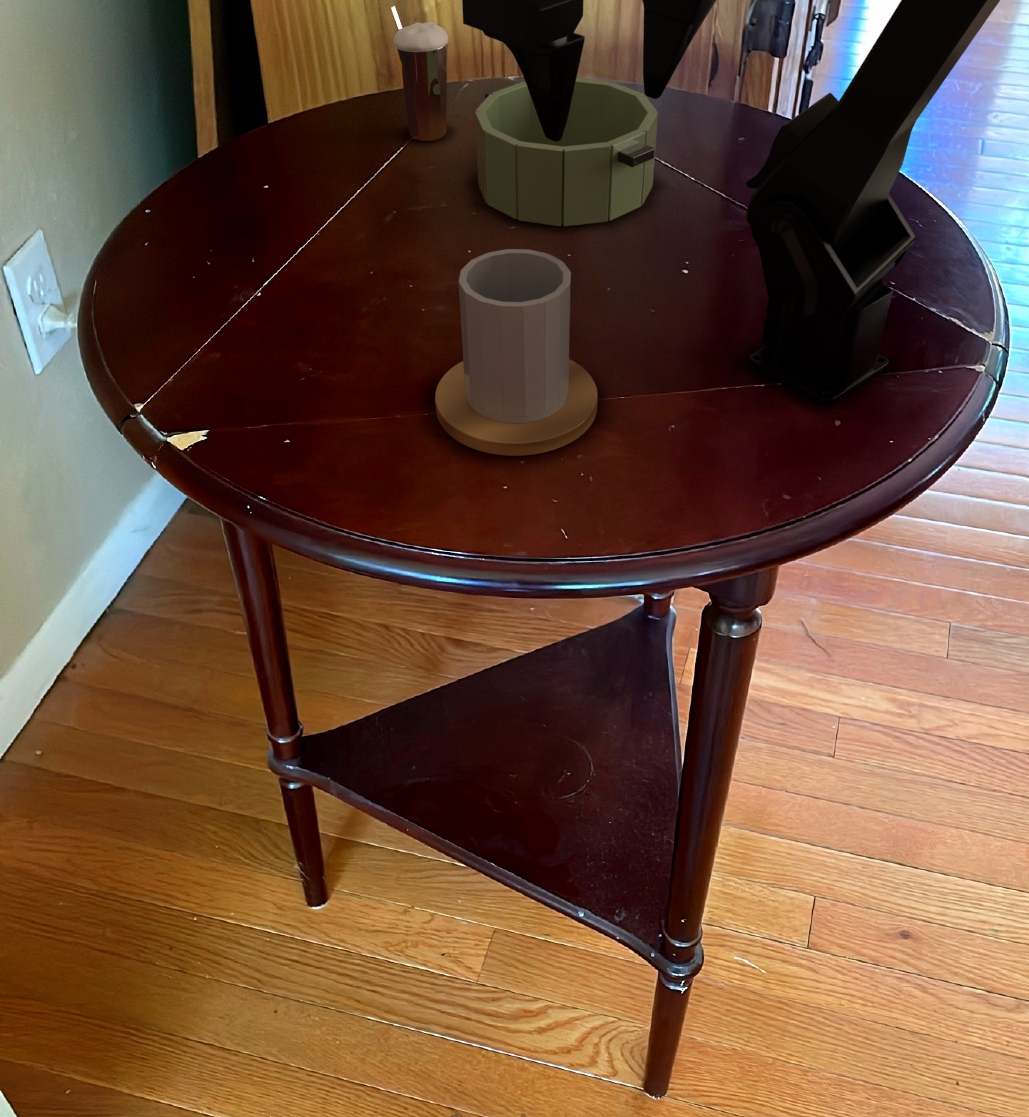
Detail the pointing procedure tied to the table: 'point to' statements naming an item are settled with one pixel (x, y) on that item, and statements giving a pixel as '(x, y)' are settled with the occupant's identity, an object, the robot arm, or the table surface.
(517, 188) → the big pot
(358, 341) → the table surface
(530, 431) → the disc
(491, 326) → the small pot
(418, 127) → the milkshake
